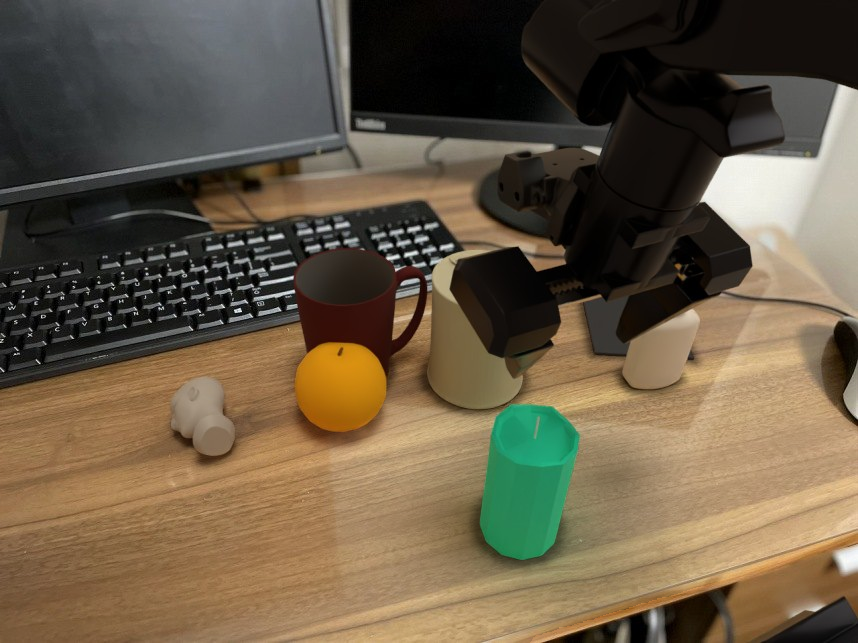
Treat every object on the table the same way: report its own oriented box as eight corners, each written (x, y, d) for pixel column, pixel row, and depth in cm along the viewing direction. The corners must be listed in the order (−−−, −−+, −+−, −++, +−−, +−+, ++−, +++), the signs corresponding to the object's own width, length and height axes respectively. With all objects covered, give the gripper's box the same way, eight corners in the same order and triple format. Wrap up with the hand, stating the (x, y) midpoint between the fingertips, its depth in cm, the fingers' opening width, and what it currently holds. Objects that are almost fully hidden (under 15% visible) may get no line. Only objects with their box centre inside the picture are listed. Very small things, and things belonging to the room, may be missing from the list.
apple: (280, 412, 60) (270, 348, 56) (347, 371, 65) (343, 309, 60) (337, 461, 56) (332, 397, 51) (405, 413, 61) (405, 350, 56)
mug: (409, 327, 70) (410, 236, 63) (440, 382, 64) (445, 287, 57) (295, 351, 67) (284, 257, 60) (316, 412, 60) (306, 314, 53)
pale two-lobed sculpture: (179, 415, 61) (230, 388, 62) (191, 479, 55) (247, 449, 56) (153, 385, 58) (208, 358, 59) (163, 450, 52) (223, 419, 53)
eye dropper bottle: (621, 357, 67) (649, 257, 60) (679, 368, 67) (714, 267, 59) (620, 387, 64) (649, 284, 57) (681, 398, 63) (719, 295, 56)
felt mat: (693, 359, 68) (694, 357, 67) (594, 354, 68) (595, 352, 68) (666, 290, 77) (667, 288, 77) (579, 286, 77) (579, 284, 77)
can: (474, 333, 70) (483, 233, 62) (542, 378, 65) (560, 276, 57) (407, 372, 65) (408, 269, 57) (475, 425, 60) (486, 319, 52)
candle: (562, 561, 49) (591, 453, 42) (481, 558, 49) (496, 451, 42) (551, 494, 54) (576, 387, 47) (477, 492, 54) (490, 384, 47)
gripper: (690, 75, 43) (611, 251, 55) (427, 115, 36) (401, 305, 48) (816, 181, 37) (697, 353, 49) (527, 251, 30) (470, 431, 42)
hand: (568, 355), depth 47 cm, fingers open, 9 cm apart
